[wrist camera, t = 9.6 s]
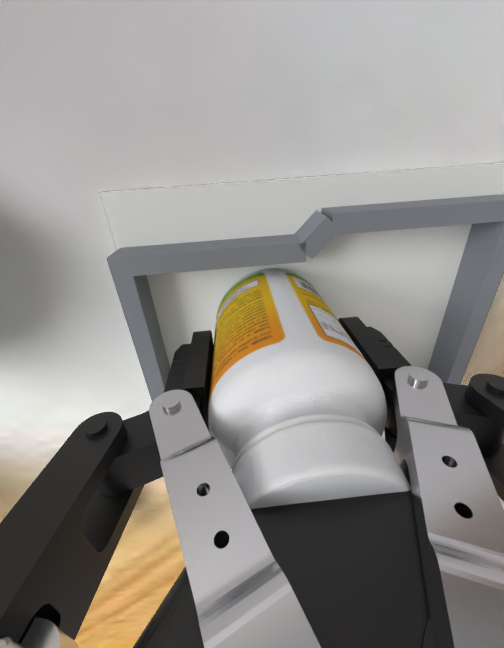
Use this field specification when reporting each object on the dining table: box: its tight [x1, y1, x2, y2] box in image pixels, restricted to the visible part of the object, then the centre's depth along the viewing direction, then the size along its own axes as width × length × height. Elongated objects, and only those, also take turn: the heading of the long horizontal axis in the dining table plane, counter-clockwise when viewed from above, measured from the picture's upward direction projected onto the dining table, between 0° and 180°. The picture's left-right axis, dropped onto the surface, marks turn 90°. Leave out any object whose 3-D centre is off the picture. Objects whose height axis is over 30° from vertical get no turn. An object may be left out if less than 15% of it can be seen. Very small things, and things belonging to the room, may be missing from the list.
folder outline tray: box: [100, 163, 504, 402], centre depth 14 cm, size 13×17×2 cm
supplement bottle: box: [208, 269, 411, 509], centre depth 10 cm, size 5×5×10 cm
